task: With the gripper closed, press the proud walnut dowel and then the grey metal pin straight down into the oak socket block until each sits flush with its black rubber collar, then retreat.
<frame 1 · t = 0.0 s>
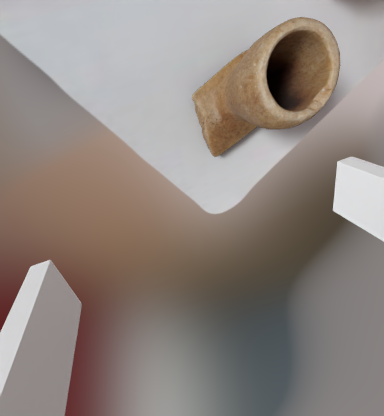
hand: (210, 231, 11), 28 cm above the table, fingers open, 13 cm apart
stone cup: (231, 93, 36), on the table
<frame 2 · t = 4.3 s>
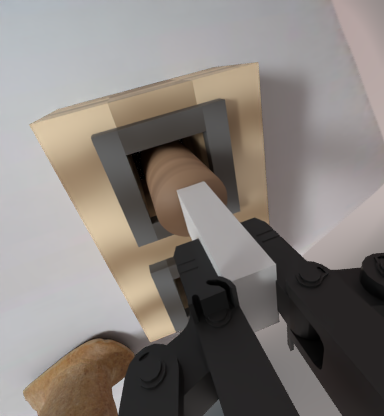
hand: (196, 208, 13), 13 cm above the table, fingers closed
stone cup: (78, 362, 35), on the table
oak block: (172, 195, 27), on the table
walnut dowel: (175, 176, 17), point 8 cm above the table, slide at 3.7 cm, touching gripper
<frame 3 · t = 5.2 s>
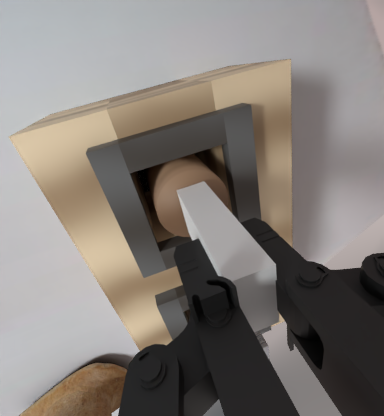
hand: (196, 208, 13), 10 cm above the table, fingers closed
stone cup: (75, 387, 32), on the table
oak block: (179, 209, 24), on the table
metal pin: (219, 314, 20), point 9 cm above the table, slide at 4.0 cm
walnut dowel: (176, 177, 17), point 5 cm above the table, slide at 0.5 cm, touching gripper
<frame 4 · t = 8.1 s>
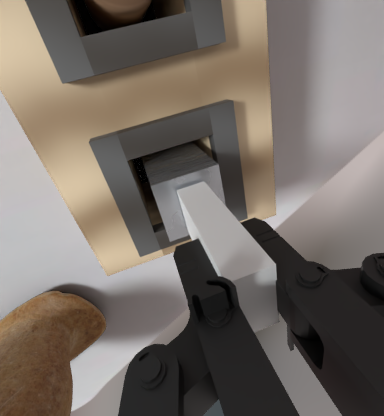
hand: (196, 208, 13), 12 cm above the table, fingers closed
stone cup: (34, 325, 29), on the table
oak block: (140, 87, 20), on the table
metal pin: (175, 176, 17), point 7 cm above the table, slide at 2.5 cm, touching gripper
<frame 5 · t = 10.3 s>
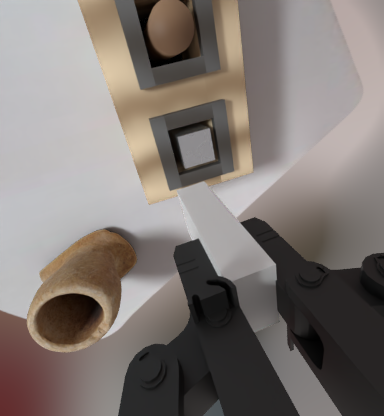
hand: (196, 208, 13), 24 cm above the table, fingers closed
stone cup: (86, 258, 40), on the table
oak block: (169, 92, 32), on the table
metal pin: (187, 140, 30), point 5 cm above the table, slide at 0.5 cm
walnut dowel: (164, 36, 25), point 5 cm above the table, slide at 0.5 cm
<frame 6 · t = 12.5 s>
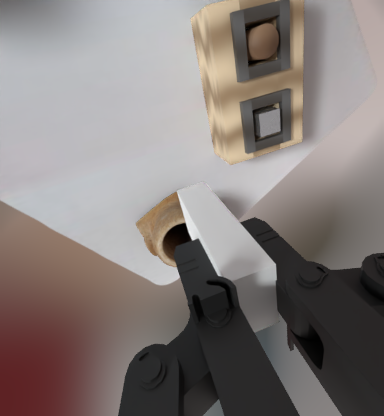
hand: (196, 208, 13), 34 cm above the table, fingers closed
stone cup: (166, 214, 52), on the table
oak block: (240, 84, 44), on the table
metal pin: (256, 119, 43), point 5 cm above the table, slide at 0.5 cm
walnut dowel: (250, 45, 37), point 5 cm above the table, slide at 0.5 cm
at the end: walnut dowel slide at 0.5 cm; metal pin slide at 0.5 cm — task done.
